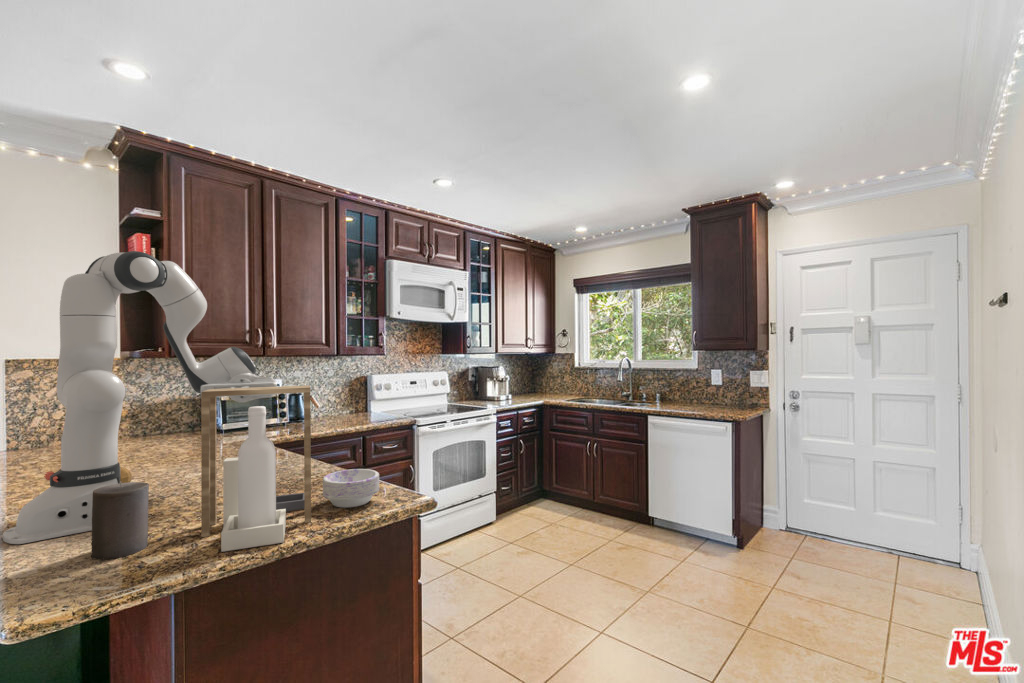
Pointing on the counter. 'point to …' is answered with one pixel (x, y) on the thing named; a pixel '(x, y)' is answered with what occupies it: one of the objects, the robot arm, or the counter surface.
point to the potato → (125, 475)
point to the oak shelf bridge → (210, 447)
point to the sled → (230, 533)
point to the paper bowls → (350, 487)
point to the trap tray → (290, 502)
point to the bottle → (256, 474)
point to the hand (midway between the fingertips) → (237, 390)
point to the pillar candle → (119, 520)
